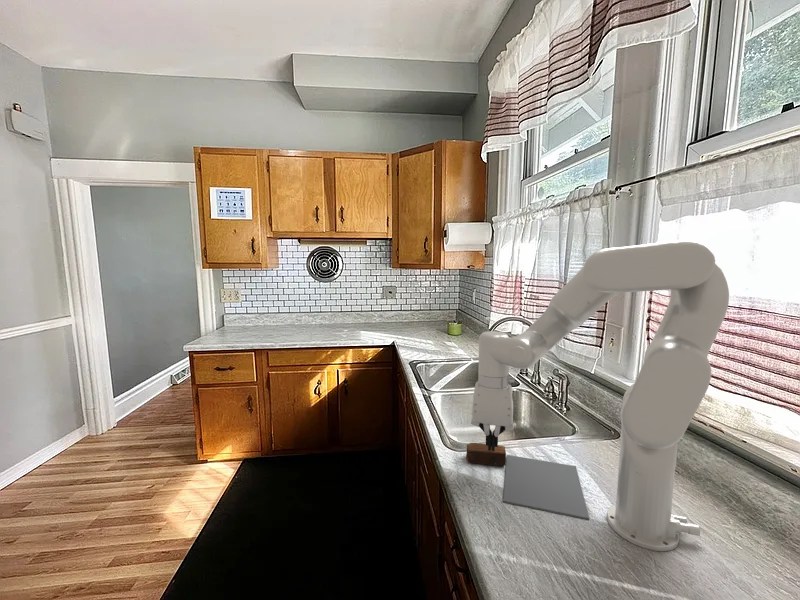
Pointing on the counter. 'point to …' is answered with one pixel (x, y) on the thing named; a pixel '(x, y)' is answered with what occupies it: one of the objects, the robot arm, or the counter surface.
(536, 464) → the mat
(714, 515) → the counter surface
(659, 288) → the robot arm
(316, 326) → the counter surface
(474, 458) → the brick
